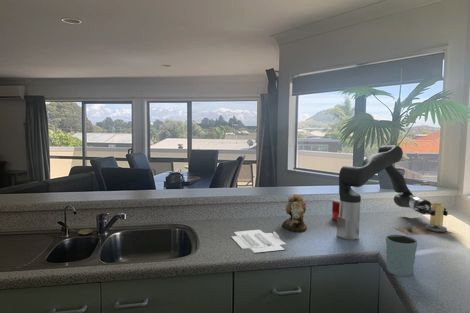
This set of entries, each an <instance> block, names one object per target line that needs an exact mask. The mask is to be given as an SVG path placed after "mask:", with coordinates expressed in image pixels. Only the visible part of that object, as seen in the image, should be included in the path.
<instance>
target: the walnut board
mask: <svg viewBox="0 0 470 313" xmlns="http://www.w3.org/2000/svg"><path fill="white" fill-rule="evenodd" d="M425 227H426V226H413V223H410V222H409V223H407V226H406V227H394V229H395V230H396V231H399V232H400V233H402V234H405V236H415V235H444V234H445V235H450V234H454V233H453V232H452V231H449V230H447V232H446V233H436V232H431V231H428V230H426V229H425Z"/></svg>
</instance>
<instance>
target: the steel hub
mask: <svg viewBox="0 0 470 313" xmlns="http://www.w3.org/2000/svg"><path fill="white" fill-rule="evenodd" d="M424 227H425V229H426V230H428V231H431V232H436V233H446V232H447V231H448V228H447V227H446V226H434V225H431V224H430V223H429V224H425V226H424Z"/></svg>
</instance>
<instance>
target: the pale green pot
mask: <svg viewBox="0 0 470 313" xmlns="http://www.w3.org/2000/svg"><path fill="white" fill-rule="evenodd" d="M385 243H386V244H385V245H386V246H385V247H386V253H385V254H386V256H385V257H386V270H387V272H388V273H390V274H392V275H394V276H398V277H411V276H412V275H413V274H414V264H415V260H416V253H417V252H416V250H417V246H418V240H417V239H416V238H413V237H412V236H411V237H410V236H409V235H403V234H402V235H401V234H390V235H386V236H385Z"/></svg>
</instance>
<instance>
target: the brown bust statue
mask: <svg viewBox="0 0 470 313" xmlns="http://www.w3.org/2000/svg"><path fill="white" fill-rule="evenodd" d="M287 200H288V201H287V203H286V206H285V212H286V214H287V215H289V216H290V217H289V218H288V219H285V220H284V221H283V222H282V226H281V227H283V229H284V230H286V231H288V232H293V233H303V232H306V231H307V229H308V226H307V225H306V224H305V222H304V218H305V217H304V214H305V213H306V211H307V204H306V202H305V200H304V198H303V196H302V195H301V194H299V193H294V194H293V195H291V196H289V197H288V199H287Z"/></svg>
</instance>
